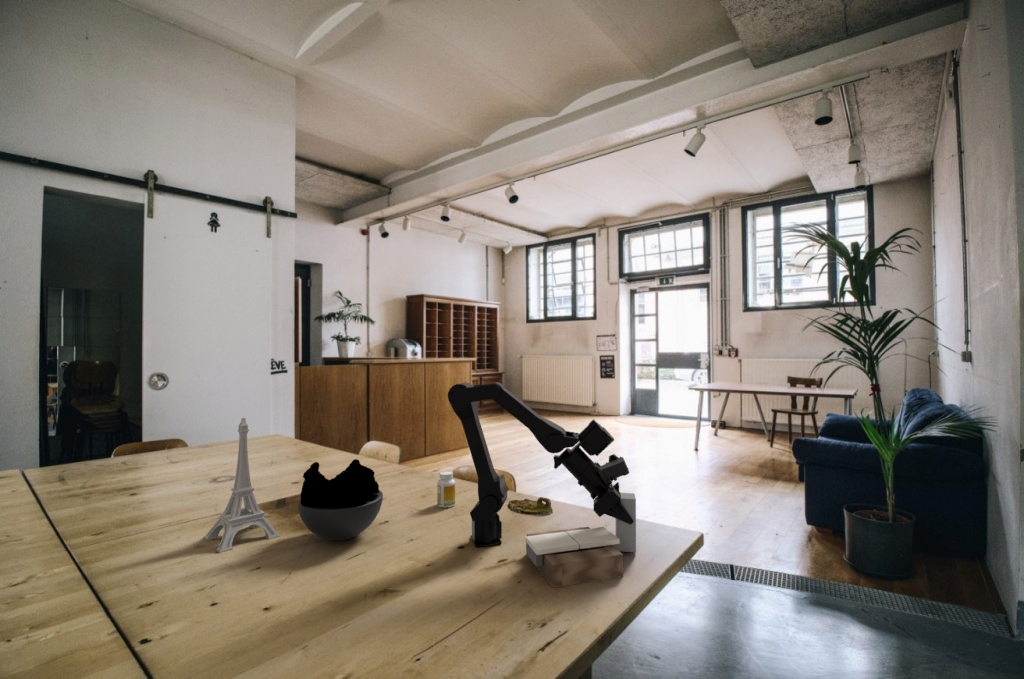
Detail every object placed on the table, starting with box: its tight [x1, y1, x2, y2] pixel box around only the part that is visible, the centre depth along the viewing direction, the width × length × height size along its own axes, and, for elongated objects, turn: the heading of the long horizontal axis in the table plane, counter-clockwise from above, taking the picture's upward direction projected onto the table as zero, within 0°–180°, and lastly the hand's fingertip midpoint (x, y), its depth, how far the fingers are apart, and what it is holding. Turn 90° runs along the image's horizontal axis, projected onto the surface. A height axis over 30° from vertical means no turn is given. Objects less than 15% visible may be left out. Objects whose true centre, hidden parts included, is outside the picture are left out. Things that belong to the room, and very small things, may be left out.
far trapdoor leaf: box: [566, 526, 620, 552], centre depth 104 cm, size 9×7×4 cm
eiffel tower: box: [203, 417, 281, 554], centre depth 119 cm, size 13×13×30 cm
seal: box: [507, 496, 554, 516], centre depth 139 cm, size 9×5×15 cm
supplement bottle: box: [436, 471, 456, 509], centre depth 142 cm, size 5×5×10 cm
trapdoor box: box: [526, 526, 624, 588], centre depth 102 cm, size 16×16×4 cm
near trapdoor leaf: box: [524, 532, 579, 567], centre depth 101 cm, size 9×7×4 cm
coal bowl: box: [297, 458, 384, 541], centre depth 118 cm, size 20×20×19 cm
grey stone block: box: [614, 492, 637, 553], centre depth 110 cm, size 4×4×12 cm
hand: (631, 519), depth 109 cm, fingers closed on grey stone block, 4 cm apart
